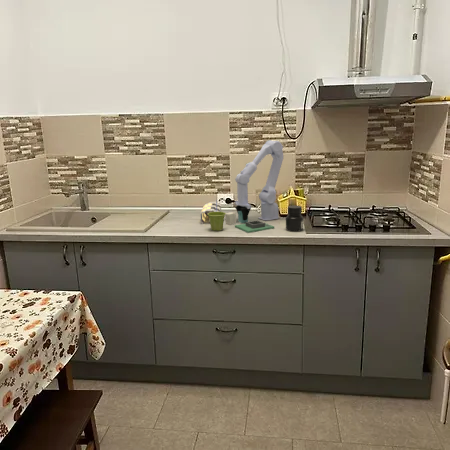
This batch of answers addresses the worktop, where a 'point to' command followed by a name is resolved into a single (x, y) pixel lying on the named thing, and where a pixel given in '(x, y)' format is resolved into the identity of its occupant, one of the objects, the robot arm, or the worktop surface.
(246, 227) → the board
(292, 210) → the ink bottle
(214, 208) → the yellow striped curved piece
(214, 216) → the plant pot
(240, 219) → the teal plug
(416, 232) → the worktop surface
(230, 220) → the offwhite plug
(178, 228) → the worktop surface
